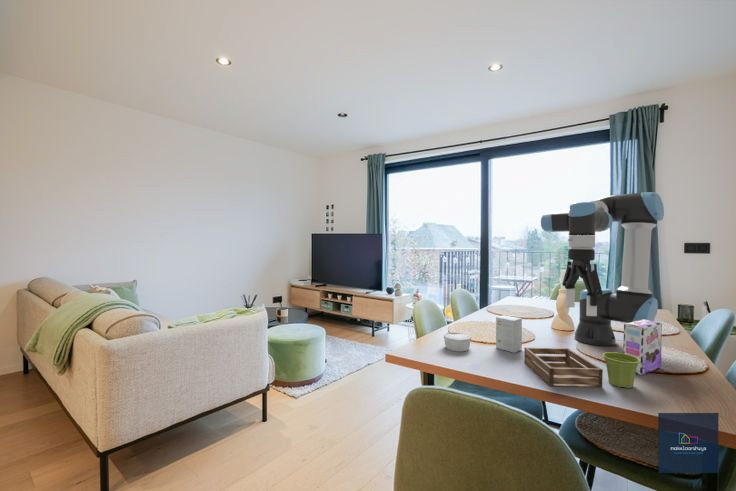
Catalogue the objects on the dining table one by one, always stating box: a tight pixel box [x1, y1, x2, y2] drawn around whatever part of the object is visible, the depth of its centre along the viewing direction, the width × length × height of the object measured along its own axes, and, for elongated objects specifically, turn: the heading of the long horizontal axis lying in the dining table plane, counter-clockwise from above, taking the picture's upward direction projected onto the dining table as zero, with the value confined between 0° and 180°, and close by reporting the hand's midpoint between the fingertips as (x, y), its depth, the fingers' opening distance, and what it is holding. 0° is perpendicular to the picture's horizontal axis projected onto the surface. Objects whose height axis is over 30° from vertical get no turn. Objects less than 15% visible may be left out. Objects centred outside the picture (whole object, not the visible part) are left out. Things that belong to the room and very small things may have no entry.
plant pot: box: [602, 351, 640, 389], centre depth 106 cm, size 9×9×9 cm
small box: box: [495, 314, 523, 353], centre depth 139 cm, size 8×6×13 cm
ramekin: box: [443, 332, 472, 353], centre depth 140 cm, size 11×11×5 cm
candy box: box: [622, 319, 663, 376], centre depth 118 cm, size 14×6×16 cm, turn 117°
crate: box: [523, 347, 604, 389], centre depth 113 cm, size 16×20×6 cm
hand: (580, 311), depth 114 cm, fingers open, 13 cm apart
